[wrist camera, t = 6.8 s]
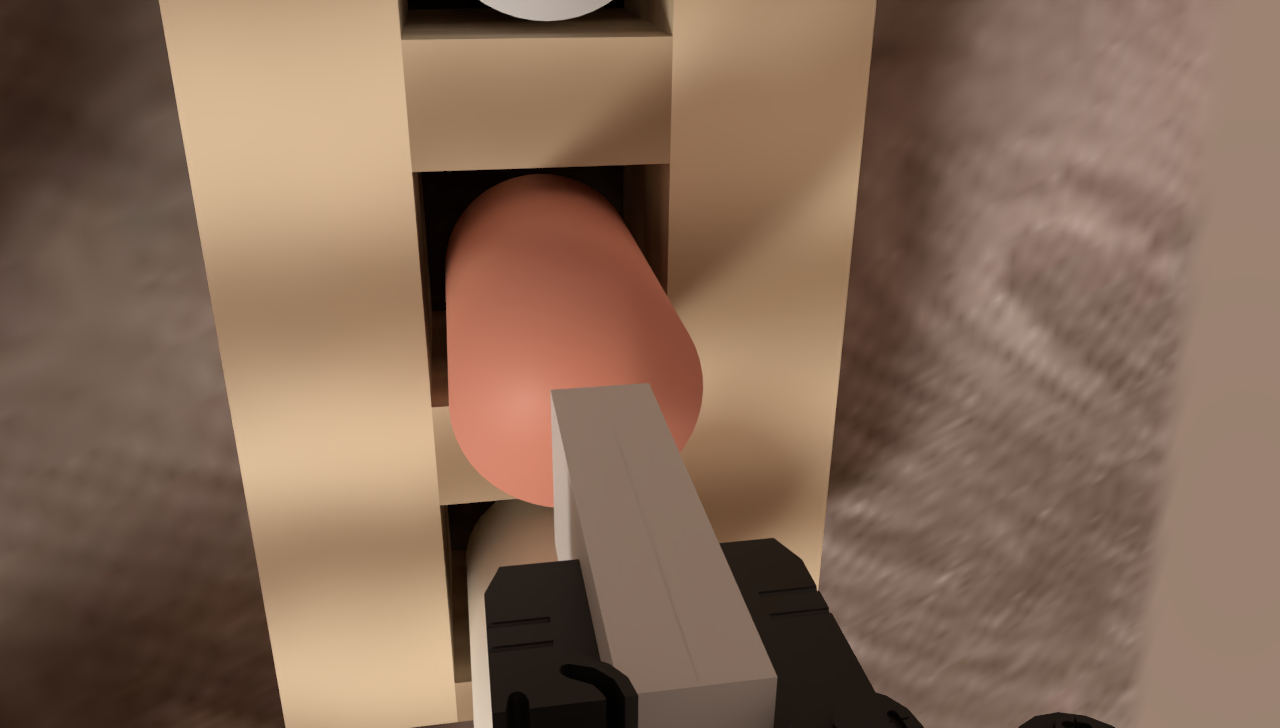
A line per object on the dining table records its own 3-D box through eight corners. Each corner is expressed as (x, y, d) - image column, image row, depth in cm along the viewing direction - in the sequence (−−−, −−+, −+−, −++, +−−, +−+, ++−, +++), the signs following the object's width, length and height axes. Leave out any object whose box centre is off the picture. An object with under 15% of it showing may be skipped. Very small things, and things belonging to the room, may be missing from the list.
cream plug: (460, 488, 26) (469, 677, 20) (632, 474, 27) (692, 652, 20) (471, 628, 28) (481, 842, 22) (631, 611, 28) (686, 813, 22)
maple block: (175, -322, 22) (90, -392, 16) (805, -294, 24) (911, -349, 19) (312, 599, 32) (287, 742, 26) (750, 555, 34) (809, 679, 29)
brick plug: (438, 177, 23) (439, 285, 16) (634, 170, 23) (707, 271, 17) (451, 359, 24) (457, 519, 18) (633, 347, 25) (698, 497, 19)
